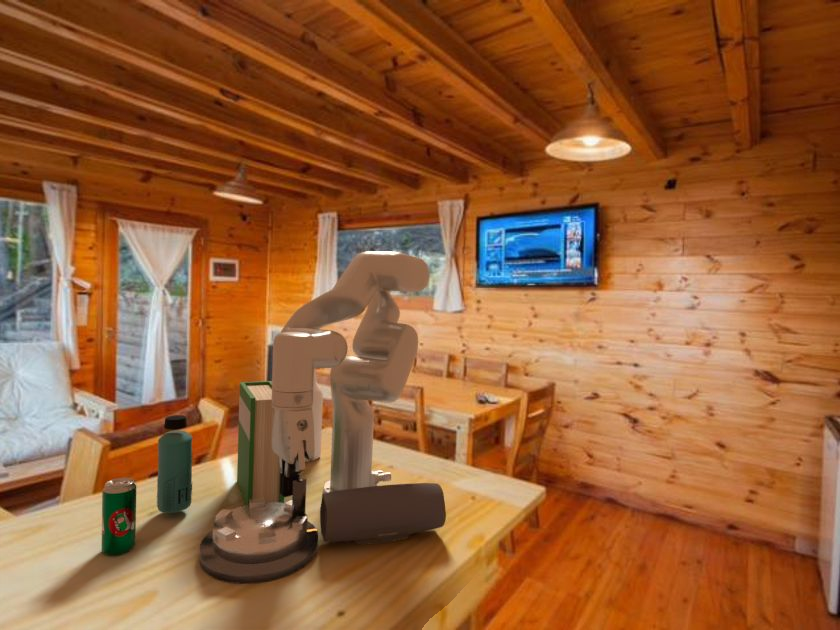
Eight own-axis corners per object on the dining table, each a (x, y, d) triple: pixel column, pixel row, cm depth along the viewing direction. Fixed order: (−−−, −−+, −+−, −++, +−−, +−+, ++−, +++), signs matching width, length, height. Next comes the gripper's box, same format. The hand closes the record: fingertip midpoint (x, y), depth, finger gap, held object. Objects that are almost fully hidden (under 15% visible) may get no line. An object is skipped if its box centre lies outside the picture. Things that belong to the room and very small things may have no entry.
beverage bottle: (177, 522, 96) (179, 422, 95) (148, 518, 97) (149, 418, 96) (198, 508, 102) (201, 414, 101) (171, 504, 103) (173, 411, 102)
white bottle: (324, 453, 140) (328, 348, 138) (315, 463, 131) (319, 352, 130) (294, 450, 140) (298, 347, 139) (283, 461, 132) (287, 350, 130)
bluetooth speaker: (429, 520, 102) (431, 473, 101) (445, 542, 93) (448, 491, 92) (318, 533, 94) (320, 482, 94) (325, 558, 86) (327, 503, 85)
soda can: (111, 541, 88) (112, 476, 87) (140, 542, 88) (142, 476, 88) (95, 557, 83) (96, 487, 82) (126, 557, 83) (127, 488, 82)
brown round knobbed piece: (315, 552, 83) (317, 496, 83) (214, 571, 77) (215, 510, 76) (297, 512, 98) (299, 464, 97) (211, 524, 91) (212, 473, 91)
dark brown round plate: (306, 517, 100) (307, 506, 100) (328, 569, 82) (329, 556, 82) (200, 532, 92) (200, 520, 92) (198, 594, 74) (198, 580, 74)
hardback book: (283, 506, 105) (287, 396, 104) (247, 512, 101) (250, 398, 100) (268, 477, 120) (271, 380, 119) (237, 481, 117) (239, 382, 116)
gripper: (328, 404, 88) (325, 504, 89) (295, 389, 100) (292, 477, 101) (288, 409, 83) (285, 514, 84) (258, 392, 95) (256, 484, 96)
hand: (289, 494), depth 92 cm, fingers closed
